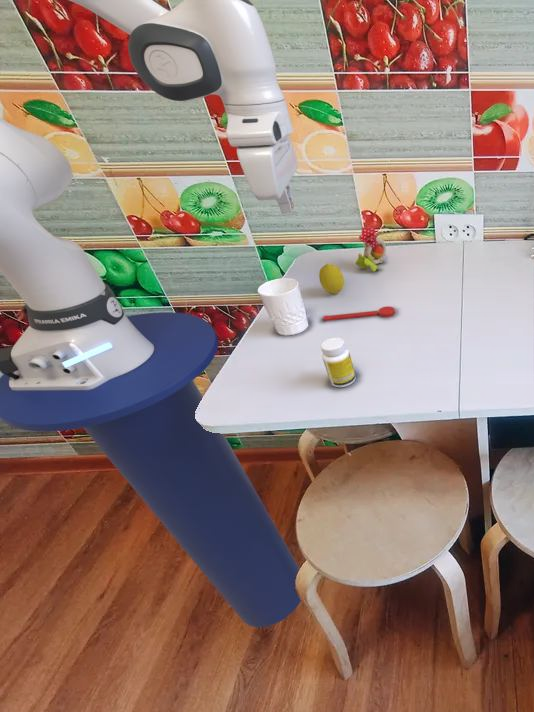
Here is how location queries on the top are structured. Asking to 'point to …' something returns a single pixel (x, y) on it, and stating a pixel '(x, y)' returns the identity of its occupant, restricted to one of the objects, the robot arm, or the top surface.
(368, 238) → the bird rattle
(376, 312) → the spoon
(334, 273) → the lemon
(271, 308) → the white cup
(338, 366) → the supplement bottle
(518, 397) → the top surface
